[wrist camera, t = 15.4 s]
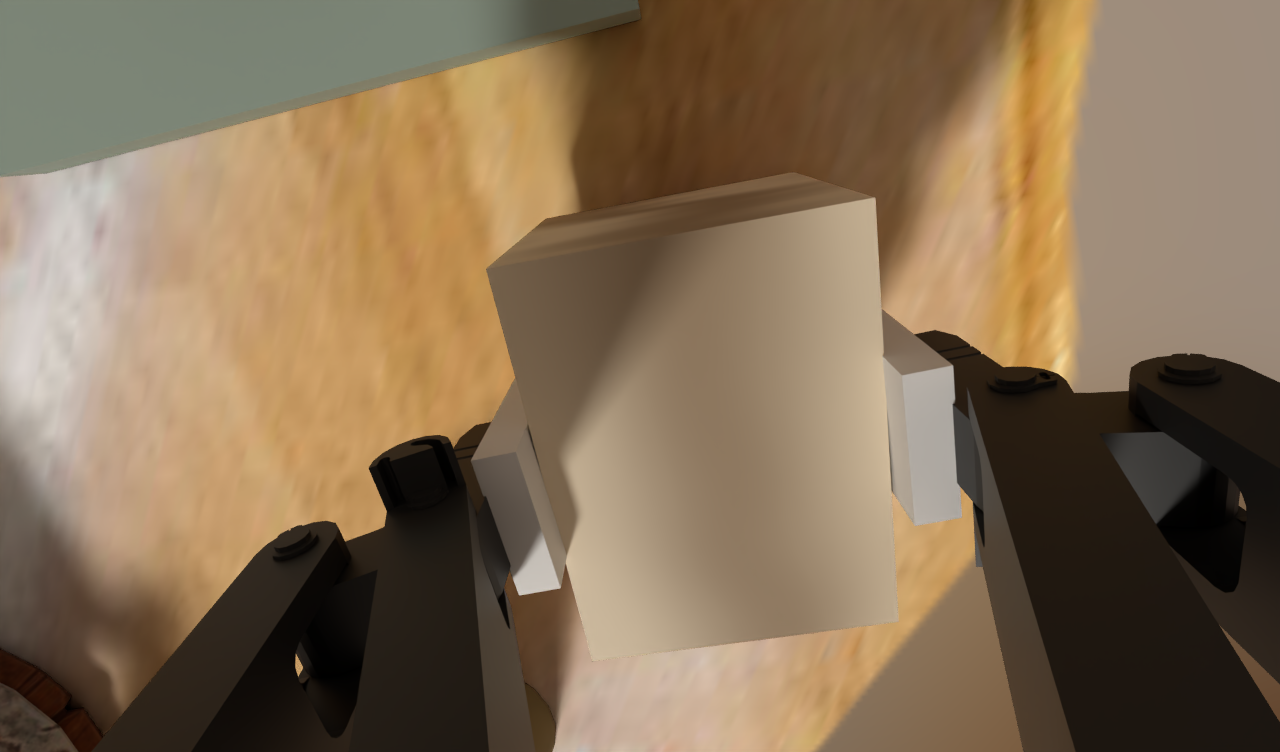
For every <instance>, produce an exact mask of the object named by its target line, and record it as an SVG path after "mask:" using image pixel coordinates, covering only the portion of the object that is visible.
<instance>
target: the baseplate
mask: <svg viewBox="0 0 1280 752" xmlns="http://www.w3.org/2000/svg"><path fill="white" fill-rule="evenodd" d="M640 19H641V14H640V8H639V3H638V0H0V177H6V176H20V175H33V174H46V173H50V172H54V171H58V170H62V169H66V168H70V167H74V166H77V165H81V164H85V163H89V162H93V161H97V160H100V159H104V158H108V157H112V156H116V155H120V154H124V153H127V152H131V151H135V150H139V149H143V148H147V147H151V146H154V145H158V144H162V143H166V142H170V141H174V140H178V139H181V138H185V137H189V136H193V135H197V134H201V133H205V132H208V131H212V130H216V129H220V128H224V127H228V126H232V125H235V124H239V123H243V122H247V121H251V120H255V119H259V118H262V117H266V116H270V115H274V114H278V113H282V112H286V111H289V110H293V109H297V108H301V107H305V106H309V105H313V104H316V103H320V102H324V101H328V100H332V99H336V98H339V97H343V96H347V95H351V94H355V93H359V92H363V91H366V90H370V89H374V88H378V87H382V86H386V85H390V84H393V83H397V82H401V81H405V80H409V79H413V78H417V77H420V76H424V75H428V74H432V73H436V72H440V71H444V70H447V69H451V68H455V67H459V66H463V65H467V64H471V63H474V62H478V61H482V60H486V59H490V58H494V57H498V56H501V55H505V54H509V53H513V52H517V51H521V50H525V49H528V48H532V47H536V46H540V45H544V44H548V43H552V42H555V41H559V40H563V39H567V38H571V37H575V36H579V35H582V34H586V33H590V32H594V31H598V30H602V29H605V28H609V27H613V26H617V25H621V24H625V23H629V22H632V21H636V20H640Z"/></svg>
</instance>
